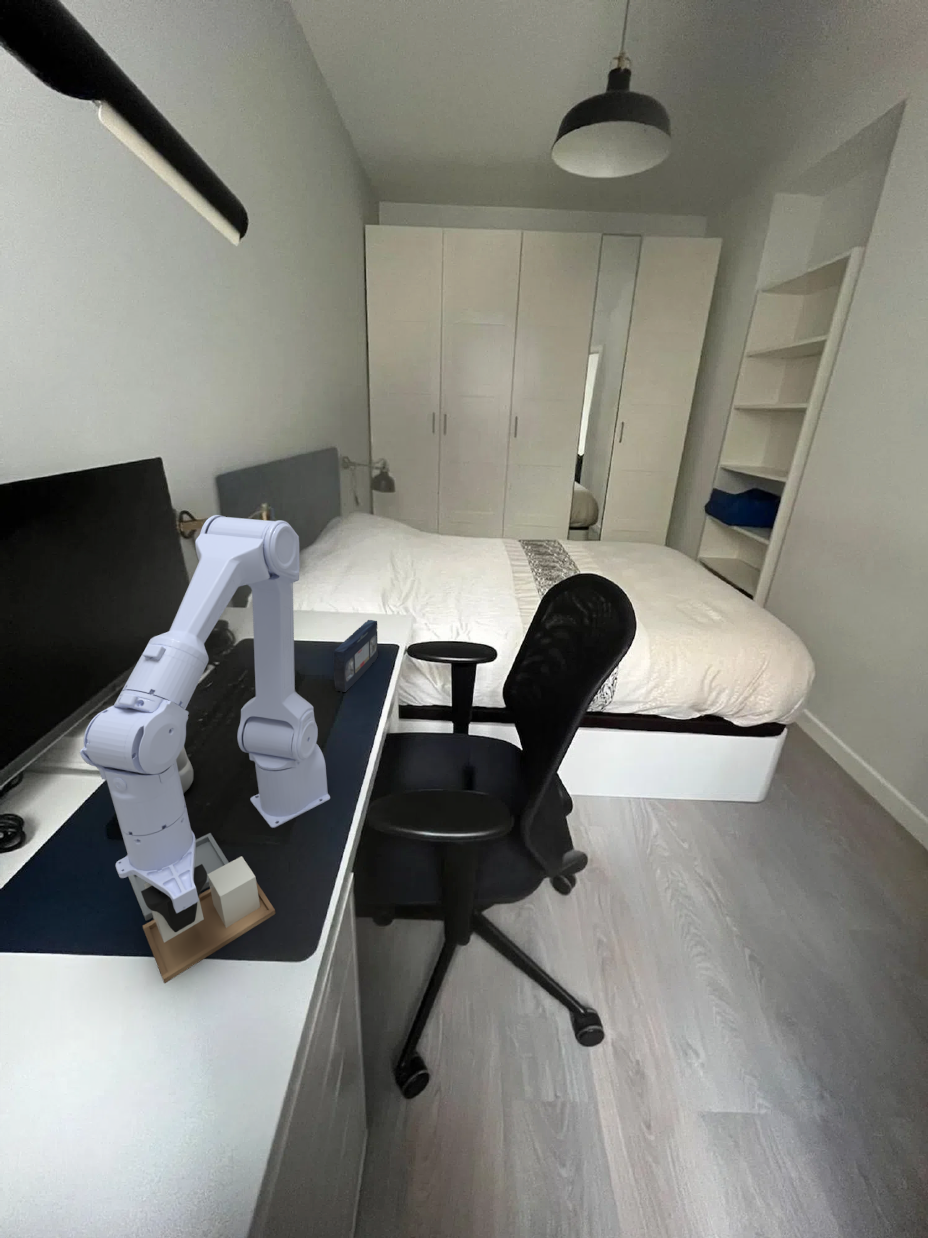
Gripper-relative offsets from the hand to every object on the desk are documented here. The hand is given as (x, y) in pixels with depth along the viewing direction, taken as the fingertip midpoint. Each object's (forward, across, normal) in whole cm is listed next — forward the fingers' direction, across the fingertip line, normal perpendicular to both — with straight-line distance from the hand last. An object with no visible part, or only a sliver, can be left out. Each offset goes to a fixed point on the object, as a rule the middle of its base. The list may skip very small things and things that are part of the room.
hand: (177, 910), depth 56 cm
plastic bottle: (+5, -27, +6) cm, 28 cm away
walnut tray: (+5, 0, +3) cm, 6 cm away
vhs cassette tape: (+6, -42, +50) cm, 65 cm away
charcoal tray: (+5, -9, +2) cm, 10 cm away
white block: (+1, 0, 0) cm, 1 cm away
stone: (+4, 0, +6) cm, 7 cm away
